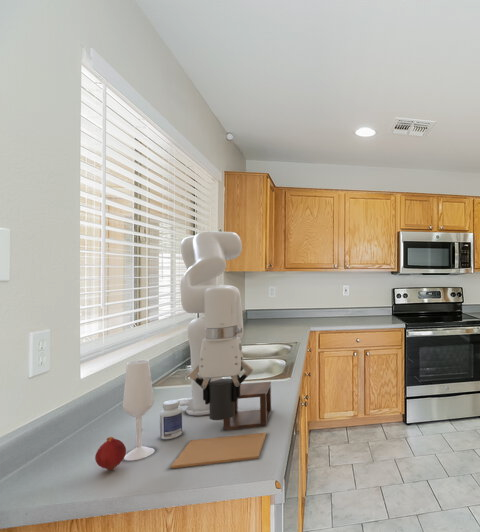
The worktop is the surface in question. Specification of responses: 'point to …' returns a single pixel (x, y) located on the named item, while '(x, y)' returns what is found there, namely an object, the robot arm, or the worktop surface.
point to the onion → (110, 453)
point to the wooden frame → (253, 416)
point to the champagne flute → (138, 402)
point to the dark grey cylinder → (221, 399)
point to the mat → (220, 450)
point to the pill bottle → (171, 420)
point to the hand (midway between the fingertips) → (222, 400)
